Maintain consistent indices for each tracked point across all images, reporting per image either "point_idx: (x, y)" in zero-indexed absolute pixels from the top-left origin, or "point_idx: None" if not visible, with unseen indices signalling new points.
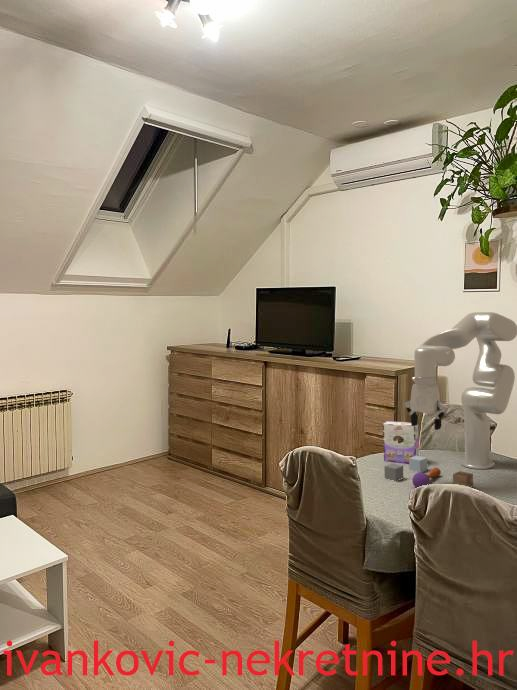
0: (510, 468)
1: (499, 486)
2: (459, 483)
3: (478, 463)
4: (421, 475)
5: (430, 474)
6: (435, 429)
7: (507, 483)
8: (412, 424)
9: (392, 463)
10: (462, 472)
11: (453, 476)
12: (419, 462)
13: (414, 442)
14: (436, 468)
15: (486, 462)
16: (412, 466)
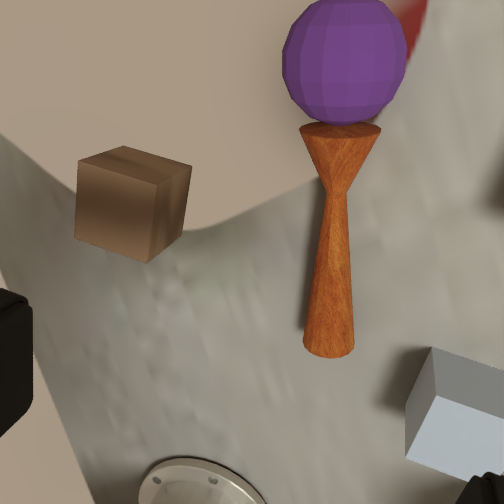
0: (91, 488)
1: (37, 267)
2: (141, 162)
3: (178, 487)
4: (320, 27)
5: (324, 231)
6: (12, 294)
7: None
8: (497, 493)
9: None
10: (125, 240)
11: (160, 181)
12: (440, 387)
13: None
14: (319, 342)
15: (152, 500)
16: (492, 383)
